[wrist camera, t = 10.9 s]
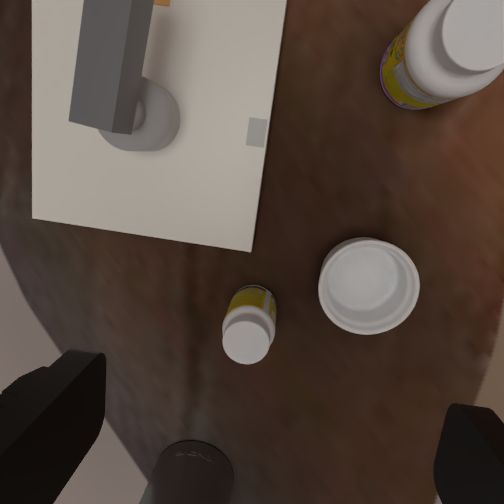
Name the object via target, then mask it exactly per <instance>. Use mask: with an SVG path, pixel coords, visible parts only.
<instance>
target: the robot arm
mask: <svg viewBox="0 0 504 504" xmlns="http://www.w3.org/2000/svg"><path fill="white" fill-rule="evenodd" d="M105 392H106V357H105V354H104V353H101V352H94V351H87V350H80V349H69V350H68V351H67V352H65V353H64V354H63V355H62V356H61V357H60V358H59V359H57V360H56V361H55V362H54V363H53V364H52V365H51V366H49V367H40V368H38V369H36V370H34V371H32V372H30V373H28V374H25V375H23V376H21V377H19V378H18V379H17V380H15V381H14V382H13V383H12V384H11V385H9V386H8V387H7V388H6V389H4V390H3V391H2V394H0V504H53V503H54V502H55V500H56V499H57V497H58V496H59V494H60V493H61V491H62V489H63V488H64V487H65V485H66V484H67V482H68V481H69V479H70V478H71V476H72V475H73V473H74V472H75V470H76V469H77V467H78V466H79V464H80V463H81V461H82V460H83V458H84V457H85V455H86V454H87V452H88V451H89V450H90V448H91V446H92V445H93V444H94V442H95V441H96V438H97V437H98V435H99V433H100V430H101V427H102V424H103V420H104V415H105ZM434 481H435V486H436V490H437V493H438V495H439V497H440V499H441V502H442V504H504V423H503V422H502V421H501V420H500V418H499V417H498V416H497V415H496V414H495V412H494V411H493V410H491V409H490V408H485V407H478V406H471V405H464V404H457V403H453V404H451V405H450V406H449V408H448V410H447V413H446V417H445V421H444V425H443V429H442V433H441V437H440V441H439V445H438V449H437V453H436V457H435V461H434ZM232 484H233V471H232V468H231V465H230V463H229V462H228V460H227V458H226V457H225V456H224V455H223V454H222V453H221V452H220V451H218V450H217V449H216V448H214V447H212V446H210V445H208V444H205V443H202V442H197V441H184V442H179V443H176V444H174V445H172V446H170V447H168V448H167V449H166V450H165V451H164V452H163V453H162V454H161V456H160V457H159V459H158V461H157V464H156V466H155V468H154V471H153V473H152V475H151V478H150V480H149V482H148V484H147V487H146V489H145V491H144V494H143V496H142V499H141V501H140V503H139V504H229V502H230V496H231V490H232Z"/></svg>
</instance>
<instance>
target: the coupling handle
mask: <svg viewBox="0 0 504 504" xmlns="http://www.w3.org/2000/svg"><path fill="white" fill-rule="evenodd" d="M153 5H154V0H84V3H83V10H82V18H81V26H80V34H79V42H78V50H77V58H76V66H75V73H74V81H73V89H72V97H71V105H70V113H69V121H70V122H73V123H77V124H81V125H85V126H88V127H92V128H96V129H100V130H104V131H107V132H111V133H119V134H128V135H132V131H135V130H137V129H139V128H140V127H141V126H142V124H143V123H144V120H145V116H146V111H145V106H144V104H143V102H142V100H141V99H140V98H139V97H138V94H139V88H140V82H141V76H142V70H143V64H144V58H145V52H146V46H147V40H148V34H149V28H150V22H151V17H152V11H153Z"/></svg>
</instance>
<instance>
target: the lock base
mask: <svg viewBox="0 0 504 504" xmlns="http://www.w3.org/2000/svg"><path fill="white" fill-rule="evenodd" d="M83 3H84V0H32V218H35V219H41V220H48V221H54V222H61V223H67V224H73V225H80V226H86V227H93V228H99V229H105V230H112V231H118V232H125V233H131V234H137V235H144V236H150V237H157V238H163V239H170V240H176V241H182V242H189V243H195V244H202V245H208V246H214V247H221V248H227V249H234V250H240V251H246V252H251V251H252V248H253V241H254V234H255V227H256V220H257V213H258V205H259V198H260V191H261V184H262V177H263V170H264V163H265V156H266V149H267V142H268V135H269V128H270V121H271V114H272V107H273V100H274V93H275V85H276V78H277V71H278V64H279V57H280V50H281V43H282V36H283V29H284V22H285V15H286V8H287V0H154V5H153V11H152V17H151V22H150V28H149V34H148V40H147V46H146V52H145V58H144V64H143V70H142V76H141V82H140V88H139V94H138V97H139V98H140V99H141V100H142V102H143V104H144V106H145V111H146V116H145V120H144V123H143V124H142V126H141V127H140V128H139V129H137V130H135V131H132V135H128V134H119V133H111V132H107V131H104V130H100V129H96V128H92V127H88V126H85V125H81V124H77V123H73V122H70V121H69V113H70V105H71V97H72V89H73V81H74V73H75V66H76V58H77V50H78V42H79V34H80V26H81V18H82V10H83Z"/></svg>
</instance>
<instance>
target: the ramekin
mask: <svg viewBox="0 0 504 504" xmlns="http://www.w3.org/2000/svg"><path fill="white" fill-rule="evenodd" d="M419 290H420V282H419V275H418V271H417V269H416V267H415V265H414V263H413V262H412V260H411V259H410V257H409V256H408V255H407V254H406V253H405V252H404V251H402V250H401V249H400V248H398V247H396V246H394V245H392V244H390V243H387V242H384V241H380V240H377V239H373V238H368V237H358V238H352V239H349V240H346V241H344V242H342V243H340V244H338V245H337V246H335V247H334V248H333V249H332V250H331V251H330V252H329V253H328V255H327V256H326V258H325V260H324V262H323V265H322V268H321V273H320V278H319V284H318V293H319V300H320V304H321V306H322V308H323V310H324V312H325V313H326V315H327V316H328V317H329V319H330V320H331V321H332V322H333V323H335V324H336V325H337V326H339V327H340V328H342V329H344V330H346V331H349V332H352V333H356V334H364V335H369V334H378V333H382V332H385V331H388V330H390V329H392V328H394V327H396V326H397V325H399V324H400V323H401V322H403V321H404V320H405V319H406V318H407V317H408V316H409V314H410V313H411V312H412V310H413V309H414V307H415V304H416V302H417V299H418V295H419Z"/></svg>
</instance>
